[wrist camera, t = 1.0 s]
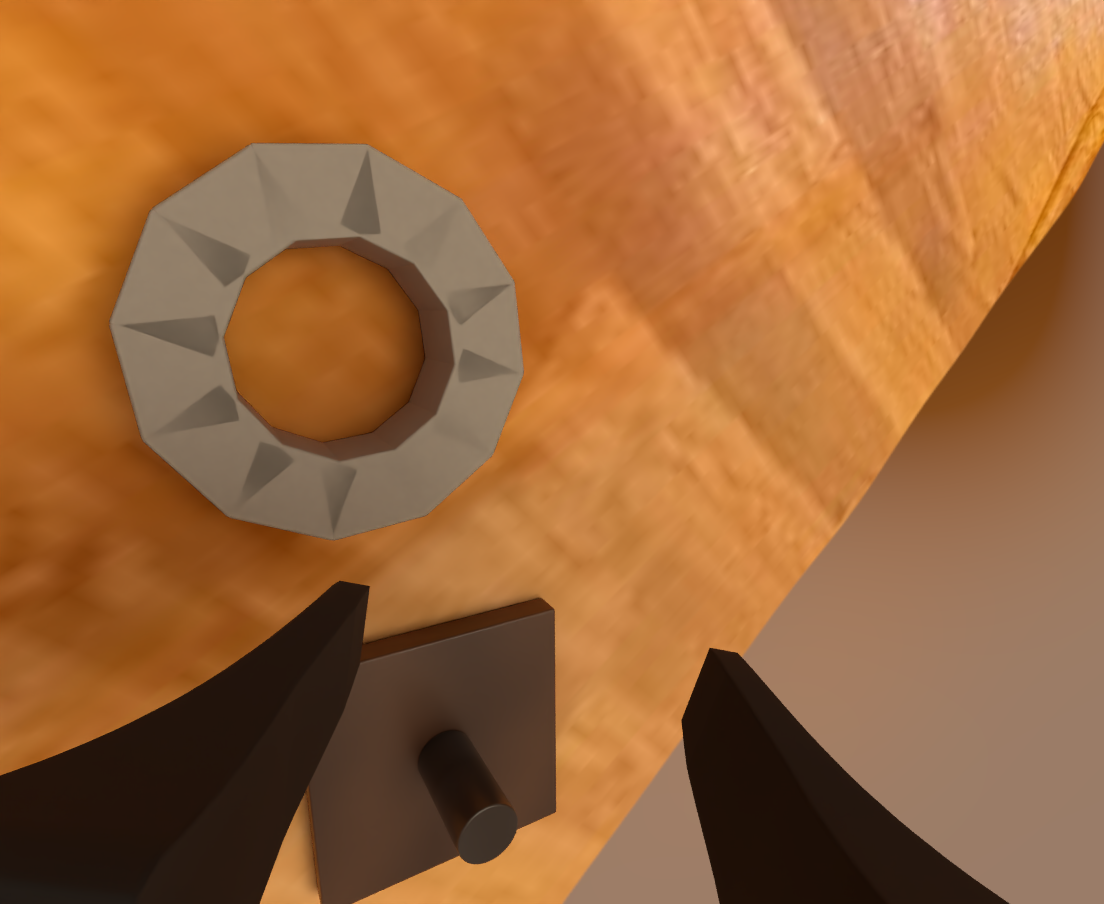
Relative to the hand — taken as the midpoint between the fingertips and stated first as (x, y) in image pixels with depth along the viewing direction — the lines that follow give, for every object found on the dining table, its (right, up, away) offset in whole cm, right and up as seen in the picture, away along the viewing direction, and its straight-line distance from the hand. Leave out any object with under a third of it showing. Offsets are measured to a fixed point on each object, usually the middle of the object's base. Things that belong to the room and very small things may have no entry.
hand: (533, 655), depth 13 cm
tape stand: (-4, -7, +13) cm, 15 cm away
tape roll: (-7, +8, +8) cm, 13 cm away
